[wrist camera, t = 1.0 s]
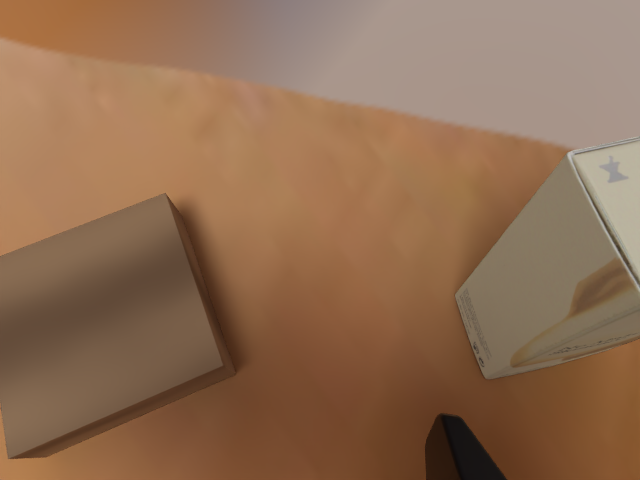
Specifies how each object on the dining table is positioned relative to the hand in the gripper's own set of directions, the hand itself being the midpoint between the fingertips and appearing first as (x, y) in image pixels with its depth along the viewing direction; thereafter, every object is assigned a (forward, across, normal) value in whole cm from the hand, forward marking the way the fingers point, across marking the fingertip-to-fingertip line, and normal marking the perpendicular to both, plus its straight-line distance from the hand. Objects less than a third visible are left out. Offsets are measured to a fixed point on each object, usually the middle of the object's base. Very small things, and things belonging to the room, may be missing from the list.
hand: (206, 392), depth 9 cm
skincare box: (+12, -13, +6) cm, 18 cm away
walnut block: (+11, +7, +10) cm, 17 cm away
